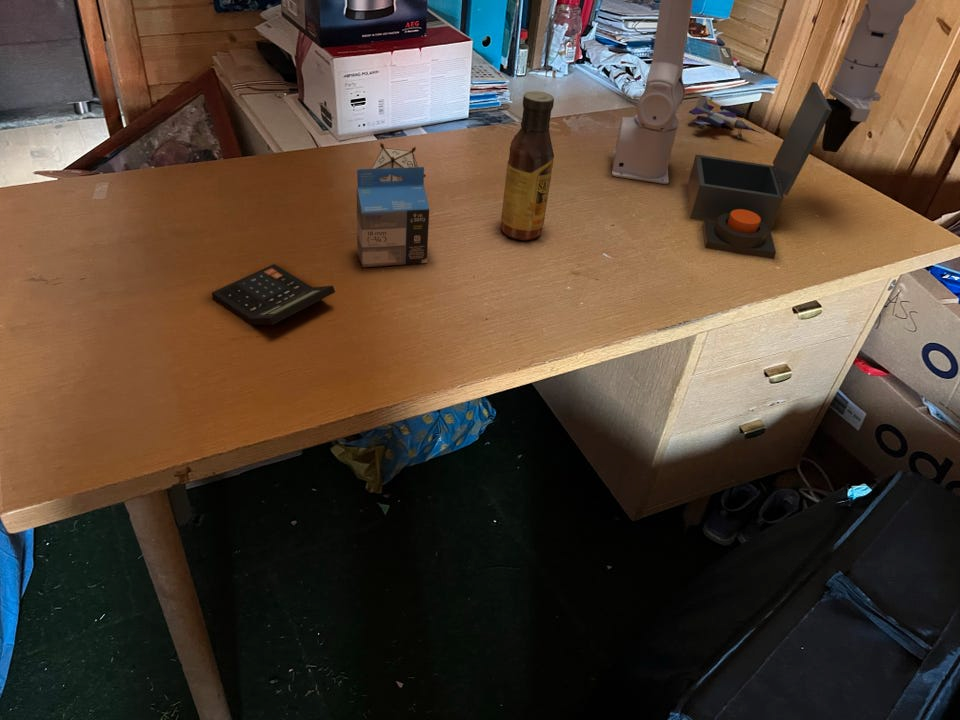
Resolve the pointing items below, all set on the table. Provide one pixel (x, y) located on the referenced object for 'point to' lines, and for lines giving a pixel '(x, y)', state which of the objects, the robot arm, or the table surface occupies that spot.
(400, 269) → the table surface
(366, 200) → the tape cartridge
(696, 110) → the toy airplane
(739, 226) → the button
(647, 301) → the table surface
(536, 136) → the sauce bottle
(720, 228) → the switch block
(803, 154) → the lid
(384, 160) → the game die
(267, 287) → the calculator
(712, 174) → the cooker
